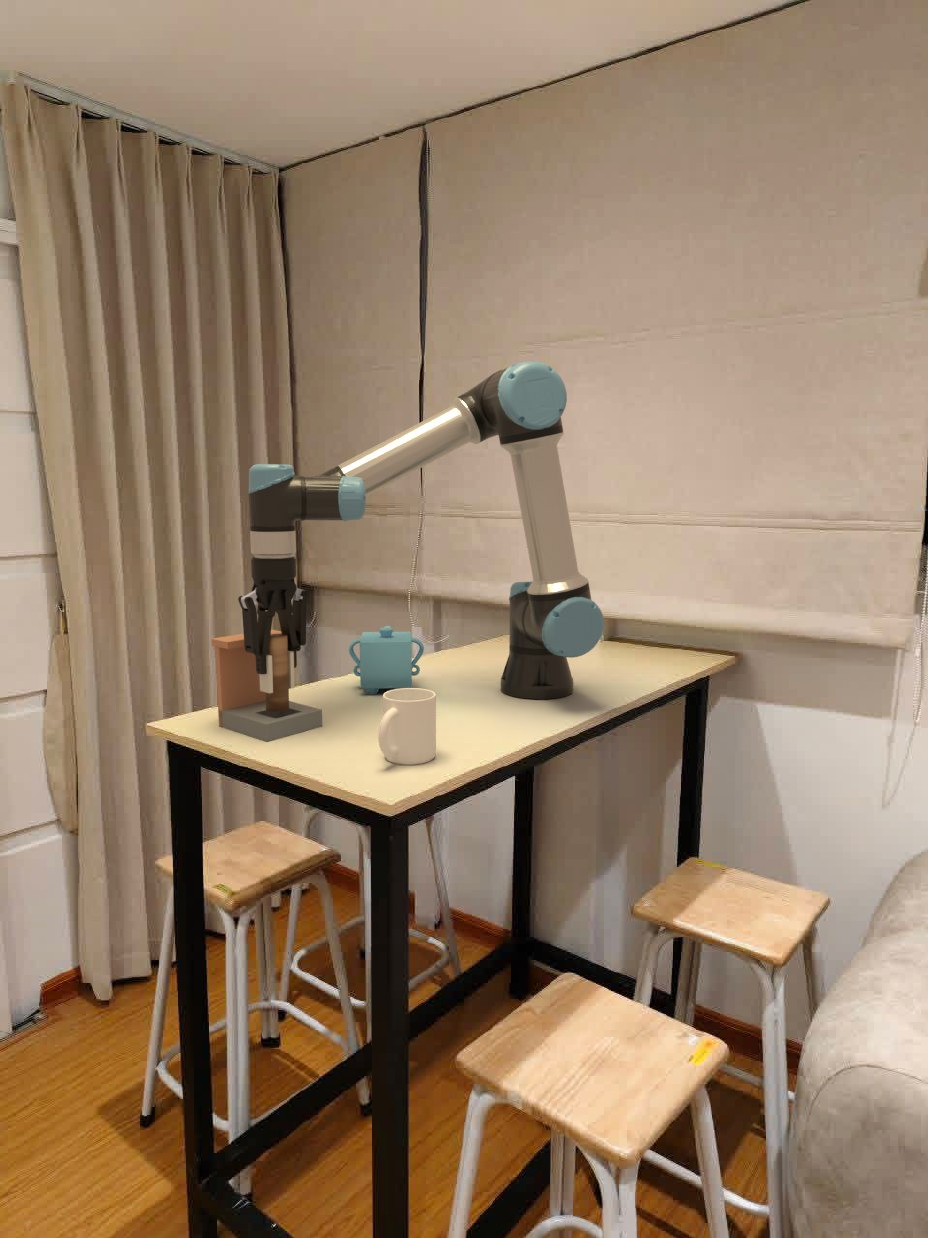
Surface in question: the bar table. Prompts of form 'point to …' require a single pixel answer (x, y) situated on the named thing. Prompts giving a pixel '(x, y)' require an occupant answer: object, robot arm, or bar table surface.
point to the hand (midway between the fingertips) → (277, 689)
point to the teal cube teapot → (385, 659)
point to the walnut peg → (278, 674)
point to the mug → (408, 726)
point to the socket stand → (253, 696)
